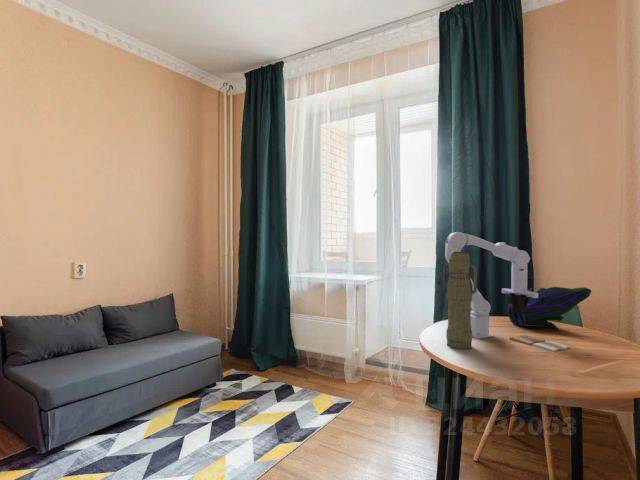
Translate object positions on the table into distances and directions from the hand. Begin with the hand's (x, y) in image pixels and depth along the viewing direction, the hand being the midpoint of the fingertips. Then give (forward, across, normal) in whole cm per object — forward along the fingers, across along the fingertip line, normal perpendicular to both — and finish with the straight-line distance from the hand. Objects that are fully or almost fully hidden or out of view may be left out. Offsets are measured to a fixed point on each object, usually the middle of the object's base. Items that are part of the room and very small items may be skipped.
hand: (519, 313), depth 150 cm
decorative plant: (+10, +7, -26) cm, 29 cm away
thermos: (+10, +2, +31) cm, 33 cm away
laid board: (+10, -14, +3) cm, 18 cm away
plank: (+10, -6, +3) cm, 12 cm away
